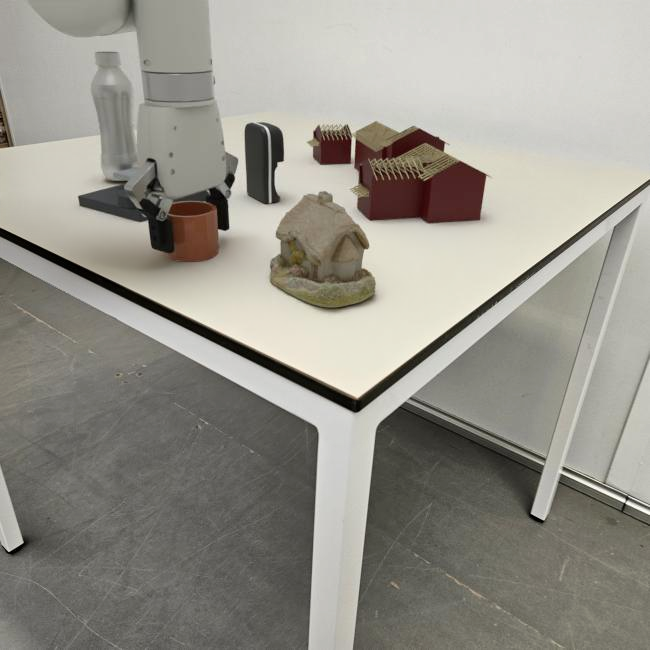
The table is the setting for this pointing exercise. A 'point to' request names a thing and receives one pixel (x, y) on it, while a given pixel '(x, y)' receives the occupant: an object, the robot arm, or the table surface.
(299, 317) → the table surface
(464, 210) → the toy houses
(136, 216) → the scale
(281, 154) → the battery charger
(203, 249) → the ramekin
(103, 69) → the plastic bottle
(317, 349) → the table surface
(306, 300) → the ceramic model
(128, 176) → the scale pan
